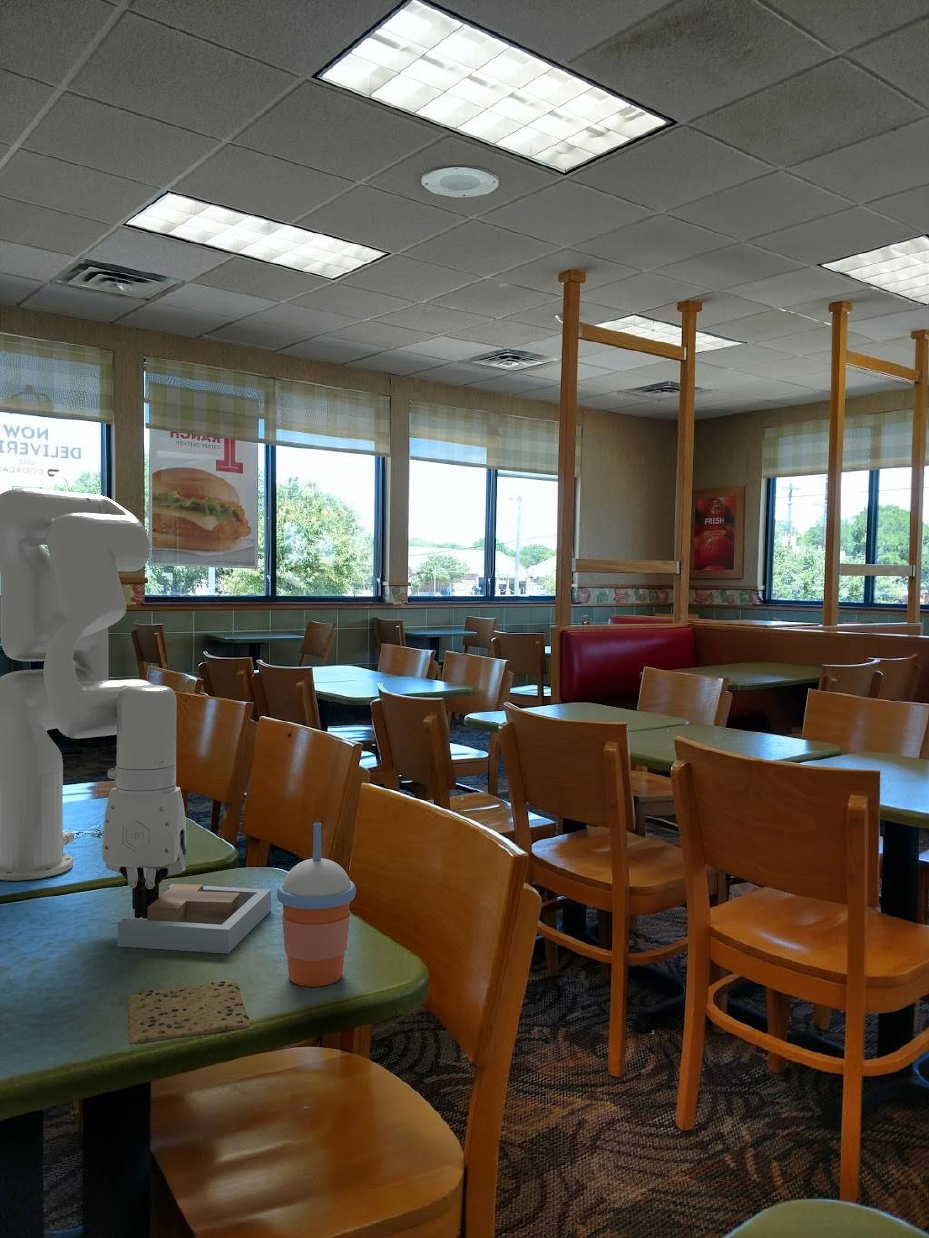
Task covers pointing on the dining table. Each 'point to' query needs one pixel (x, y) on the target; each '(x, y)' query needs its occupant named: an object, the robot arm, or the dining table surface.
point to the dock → (199, 927)
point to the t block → (194, 905)
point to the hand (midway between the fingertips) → (145, 914)
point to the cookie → (185, 1012)
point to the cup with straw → (316, 918)
